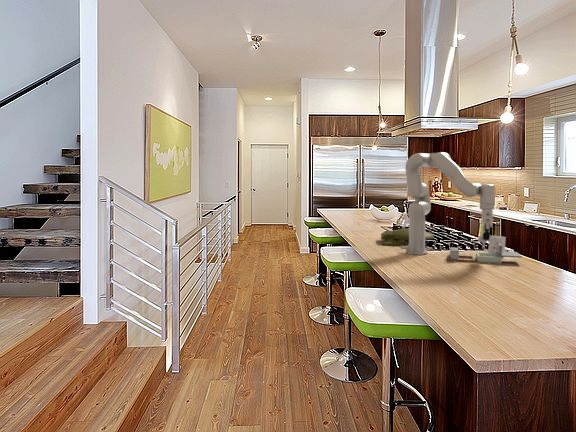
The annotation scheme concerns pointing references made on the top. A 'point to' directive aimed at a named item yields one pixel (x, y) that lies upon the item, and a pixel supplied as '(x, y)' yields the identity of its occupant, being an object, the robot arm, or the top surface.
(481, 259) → the bin
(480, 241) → the stone
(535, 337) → the top surface
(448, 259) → the tray
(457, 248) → the stone
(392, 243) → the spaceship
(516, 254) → the bin lid
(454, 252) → the stone
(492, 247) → the mug
